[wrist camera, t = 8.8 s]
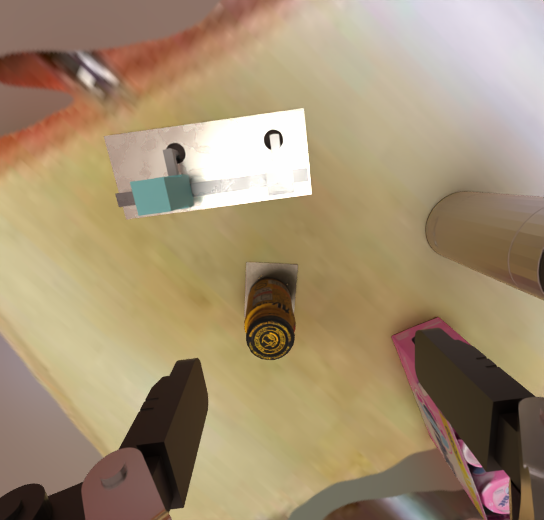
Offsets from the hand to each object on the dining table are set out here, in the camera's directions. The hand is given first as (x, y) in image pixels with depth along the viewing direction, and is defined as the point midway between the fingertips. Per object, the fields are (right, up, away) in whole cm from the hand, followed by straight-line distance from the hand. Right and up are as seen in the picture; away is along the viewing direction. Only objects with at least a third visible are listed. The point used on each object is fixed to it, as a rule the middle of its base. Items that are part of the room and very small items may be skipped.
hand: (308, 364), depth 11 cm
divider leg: (-13, +14, +25) cm, 31 cm away
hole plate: (-9, +16, +27) cm, 32 cm away
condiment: (-2, -1, +32) cm, 32 cm away
